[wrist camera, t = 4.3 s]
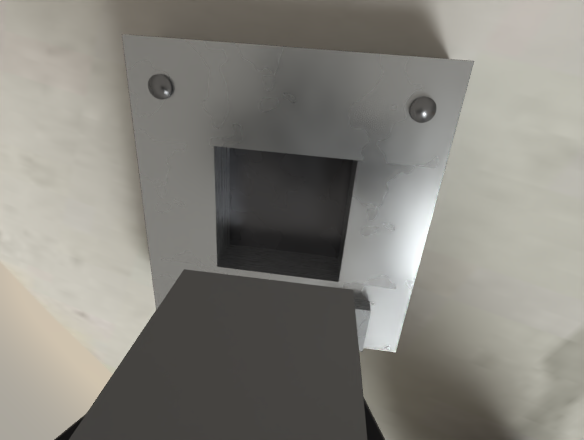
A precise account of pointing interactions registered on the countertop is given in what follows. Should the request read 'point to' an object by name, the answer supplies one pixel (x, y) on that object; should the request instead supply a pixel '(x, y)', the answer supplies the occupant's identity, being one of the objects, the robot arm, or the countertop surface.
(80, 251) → the countertop surface
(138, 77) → the faceplate
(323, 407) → the plug
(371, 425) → the robot arm
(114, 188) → the countertop surface
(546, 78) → the countertop surface
